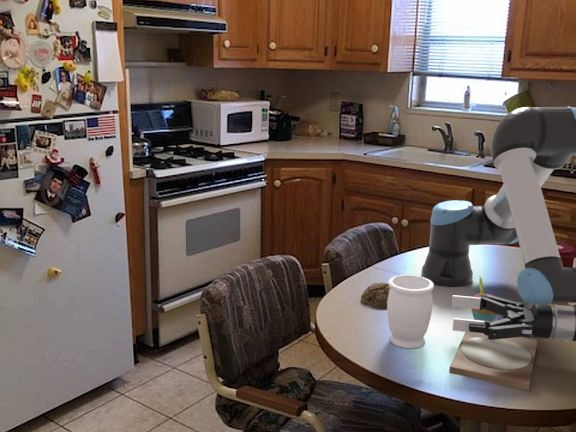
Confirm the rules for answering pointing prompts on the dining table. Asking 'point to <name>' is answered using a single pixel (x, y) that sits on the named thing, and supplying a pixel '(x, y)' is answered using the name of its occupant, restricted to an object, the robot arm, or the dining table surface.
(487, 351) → the board
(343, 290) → the dining table surface
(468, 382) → the dining table surface
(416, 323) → the jar
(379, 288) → the bread roll
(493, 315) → the cupcake
